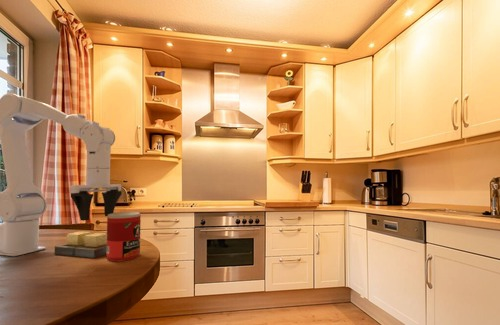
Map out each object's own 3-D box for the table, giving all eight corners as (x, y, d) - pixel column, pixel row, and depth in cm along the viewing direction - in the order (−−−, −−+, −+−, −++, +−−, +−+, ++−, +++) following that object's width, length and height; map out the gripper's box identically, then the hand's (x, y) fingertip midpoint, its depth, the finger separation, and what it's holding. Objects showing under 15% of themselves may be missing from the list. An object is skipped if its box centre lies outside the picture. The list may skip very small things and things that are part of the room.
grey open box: (54, 254, 70) (55, 235, 70) (81, 246, 77) (82, 229, 78) (93, 258, 66) (94, 238, 66) (118, 249, 73) (119, 232, 73)
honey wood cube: (84, 254, 69) (84, 235, 70) (97, 250, 73) (97, 232, 73) (95, 255, 68) (96, 236, 68) (108, 251, 72) (108, 233, 72)
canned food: (127, 262, 62) (128, 216, 63) (98, 260, 63) (99, 215, 64) (146, 253, 69) (146, 212, 70) (120, 252, 71) (120, 211, 72)
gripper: (85, 167, 64) (83, 223, 63) (129, 169, 78) (128, 215, 77) (64, 168, 66) (62, 221, 65) (111, 169, 80) (110, 214, 79)
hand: (97, 218), depth 71 cm, fingers open, 7 cm apart
